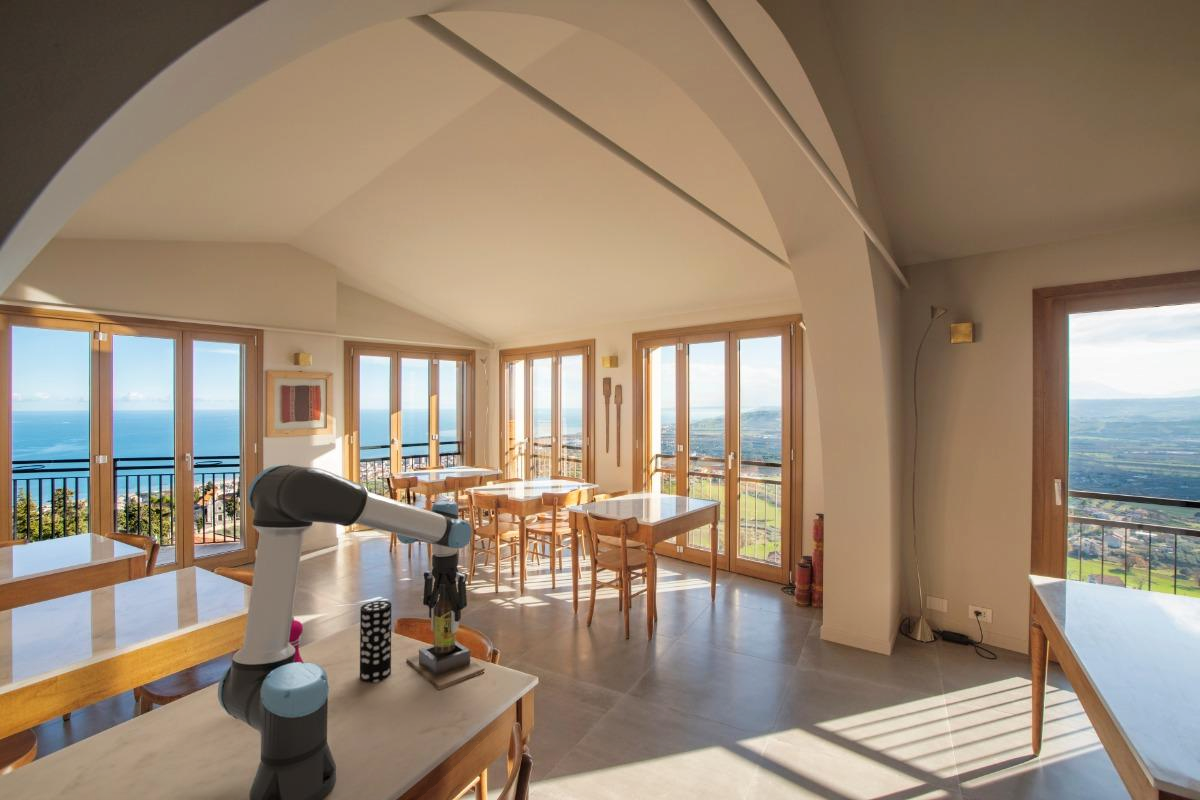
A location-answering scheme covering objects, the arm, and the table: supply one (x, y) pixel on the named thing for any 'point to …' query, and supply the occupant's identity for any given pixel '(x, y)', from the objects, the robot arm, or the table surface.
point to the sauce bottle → (443, 622)
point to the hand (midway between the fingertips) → (444, 630)
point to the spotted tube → (375, 641)
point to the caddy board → (448, 677)
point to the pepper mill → (296, 638)
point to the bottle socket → (444, 659)
